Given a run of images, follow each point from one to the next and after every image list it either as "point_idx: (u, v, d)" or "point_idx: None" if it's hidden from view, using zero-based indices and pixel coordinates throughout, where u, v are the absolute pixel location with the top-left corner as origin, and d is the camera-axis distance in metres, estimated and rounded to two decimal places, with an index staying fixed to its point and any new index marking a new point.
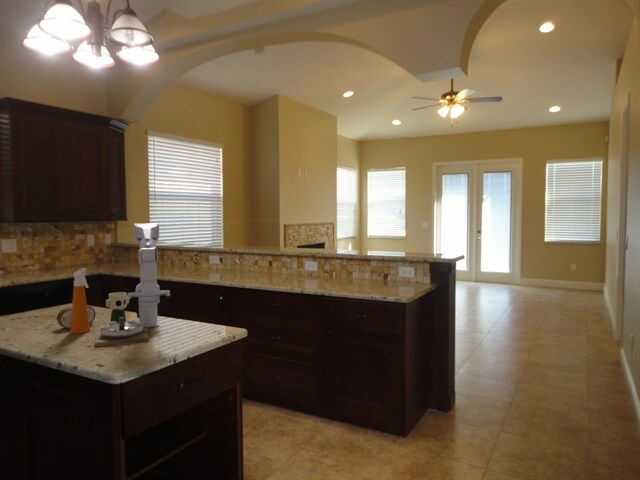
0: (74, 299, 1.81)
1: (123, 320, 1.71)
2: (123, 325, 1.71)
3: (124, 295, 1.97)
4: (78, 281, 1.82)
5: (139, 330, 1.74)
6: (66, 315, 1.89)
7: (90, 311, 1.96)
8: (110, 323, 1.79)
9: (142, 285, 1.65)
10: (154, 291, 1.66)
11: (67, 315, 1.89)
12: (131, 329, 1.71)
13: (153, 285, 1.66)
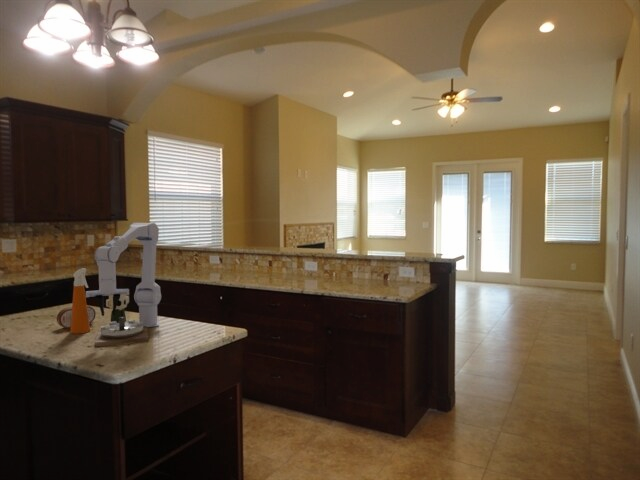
0: (74, 299, 1.81)
1: (123, 320, 1.71)
2: (123, 325, 1.71)
3: (124, 295, 1.97)
4: (78, 281, 1.82)
5: (139, 330, 1.74)
6: (66, 315, 1.89)
7: (90, 311, 1.96)
8: (110, 323, 1.79)
9: (100, 284, 1.66)
10: (112, 290, 1.67)
11: (67, 315, 1.89)
12: (131, 329, 1.71)
13: (112, 283, 1.67)
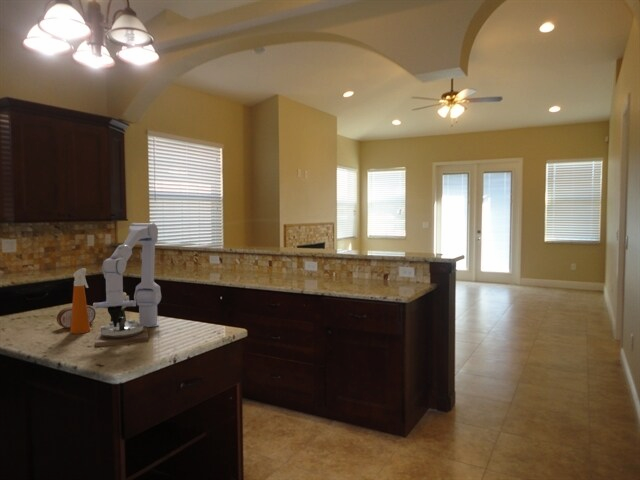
0: (74, 299, 1.81)
1: (123, 320, 1.71)
2: (123, 325, 1.71)
3: (124, 295, 1.97)
4: (78, 281, 1.82)
5: (139, 330, 1.74)
6: (66, 315, 1.89)
7: (90, 311, 1.96)
8: (110, 323, 1.79)
9: (107, 295, 1.67)
10: (119, 301, 1.68)
11: (67, 315, 1.89)
12: (131, 329, 1.71)
13: (119, 295, 1.68)
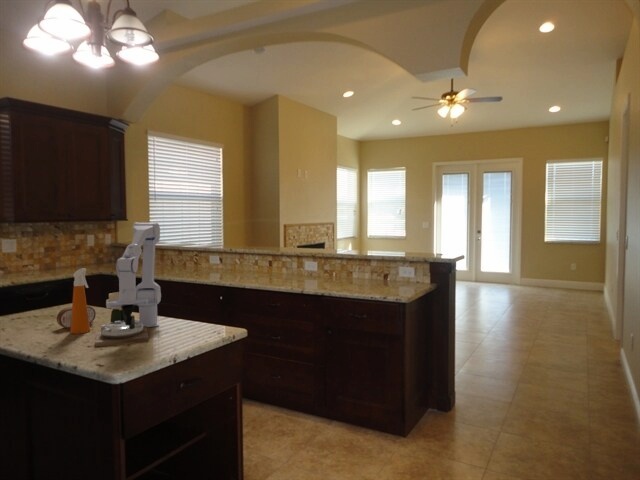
0: (74, 299, 1.81)
1: (134, 318, 1.74)
2: (134, 323, 1.74)
3: None
4: (78, 281, 1.82)
5: None
6: (66, 315, 1.89)
7: (90, 311, 1.96)
8: (102, 326, 1.74)
9: (122, 294, 1.69)
10: (134, 300, 1.71)
11: (67, 315, 1.89)
12: (141, 325, 1.76)
13: (133, 294, 1.71)
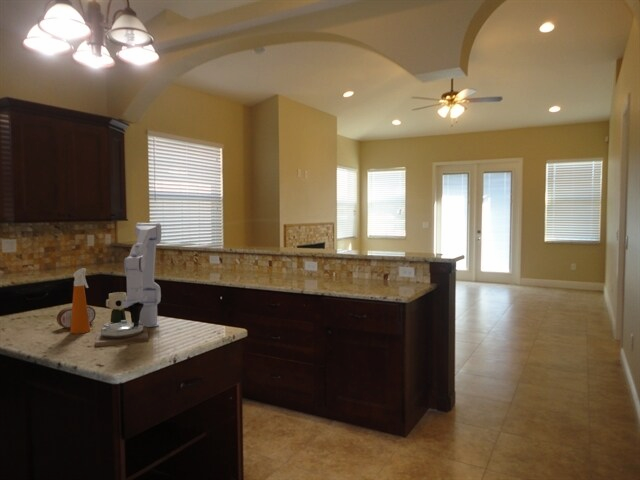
0: (74, 299, 1.81)
1: None
2: None
3: (124, 295, 1.97)
4: (78, 281, 1.82)
5: None
6: (66, 315, 1.89)
7: (90, 311, 1.96)
8: (105, 329, 1.70)
9: (135, 292, 1.72)
10: (142, 297, 1.77)
11: (67, 315, 1.89)
12: None
13: (142, 291, 1.76)
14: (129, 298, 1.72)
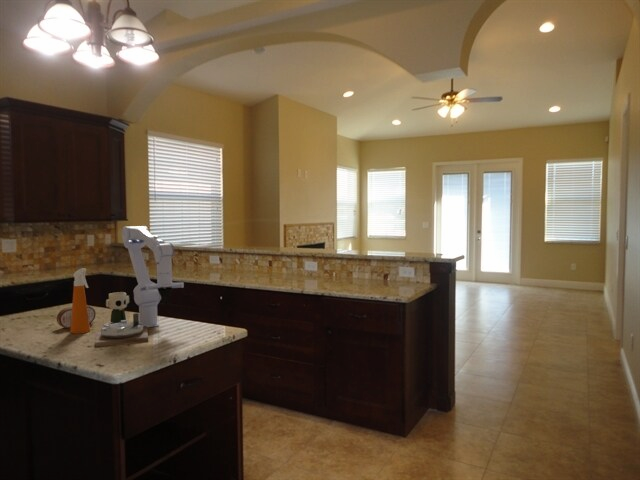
0: (74, 299, 1.81)
1: None
2: None
3: (124, 295, 1.97)
4: (78, 281, 1.82)
5: None
6: (66, 315, 1.89)
7: (90, 311, 1.96)
8: (105, 329, 1.70)
9: (159, 277, 1.81)
10: (169, 283, 1.82)
11: (67, 315, 1.89)
12: None
13: (169, 277, 1.82)
14: None
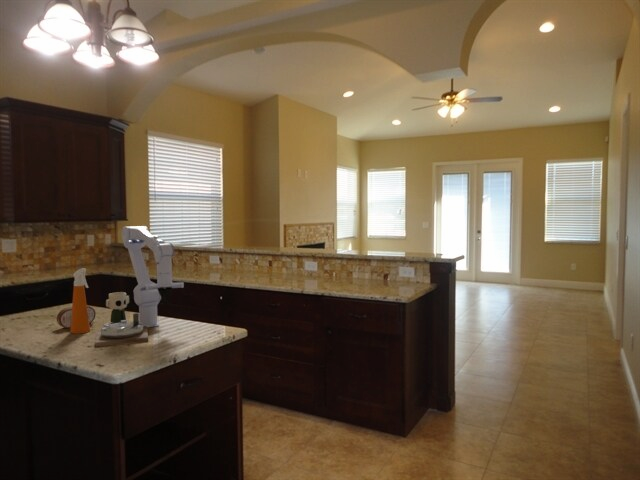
0: (74, 299, 1.81)
1: None
2: None
3: (124, 295, 1.97)
4: (78, 281, 1.82)
5: None
6: (66, 315, 1.89)
7: (90, 311, 1.96)
8: (105, 329, 1.70)
9: (159, 277, 1.81)
10: (169, 283, 1.82)
11: (67, 315, 1.89)
12: None
13: (169, 277, 1.82)
14: None
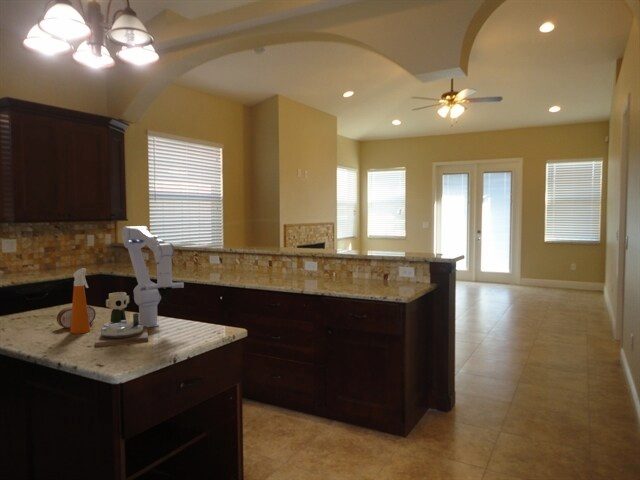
0: (74, 299, 1.81)
1: None
2: None
3: (124, 295, 1.97)
4: (78, 281, 1.82)
5: None
6: (66, 315, 1.89)
7: (90, 311, 1.96)
8: (105, 329, 1.70)
9: (159, 277, 1.81)
10: (169, 283, 1.82)
11: (67, 315, 1.89)
12: None
13: (169, 277, 1.82)
14: None
